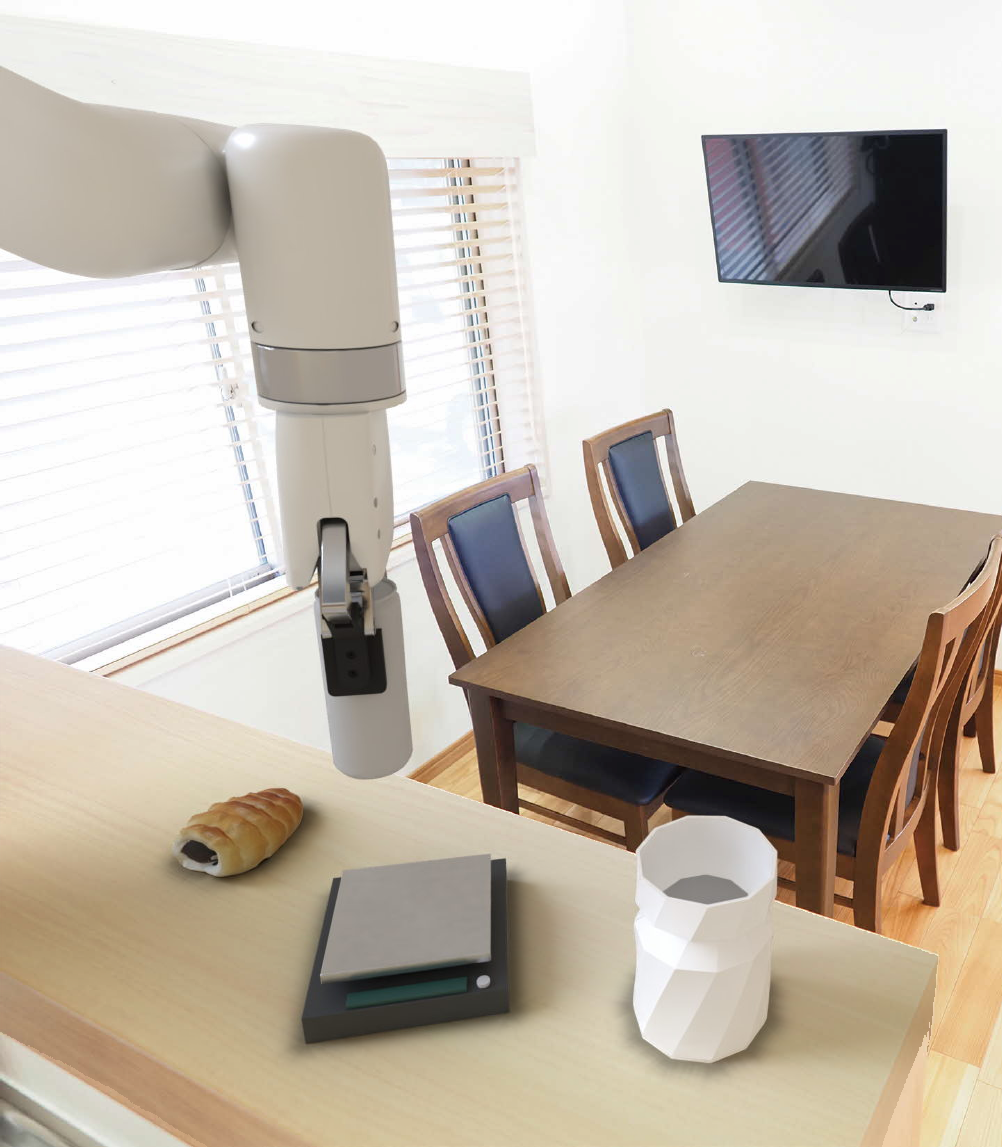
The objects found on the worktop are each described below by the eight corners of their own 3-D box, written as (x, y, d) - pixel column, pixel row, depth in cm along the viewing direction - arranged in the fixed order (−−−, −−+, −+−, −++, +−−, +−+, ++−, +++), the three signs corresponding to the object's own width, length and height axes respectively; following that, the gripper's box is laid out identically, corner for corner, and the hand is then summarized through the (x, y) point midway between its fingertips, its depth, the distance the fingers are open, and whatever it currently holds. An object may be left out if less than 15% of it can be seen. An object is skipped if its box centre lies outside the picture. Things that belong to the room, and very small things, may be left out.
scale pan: (321, 985, 59) (319, 975, 59) (343, 879, 68) (342, 869, 68) (491, 962, 62) (490, 951, 61) (491, 862, 71) (490, 853, 70)
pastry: (262, 799, 81) (256, 760, 80) (328, 819, 79) (323, 779, 78) (164, 866, 73) (156, 824, 71) (236, 890, 71) (228, 848, 70)
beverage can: (317, 775, 60) (293, 598, 56) (364, 737, 65) (345, 570, 60) (386, 789, 59) (367, 610, 55) (429, 749, 64) (415, 580, 59)
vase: (723, 1089, 58) (731, 929, 53) (605, 1026, 61) (604, 872, 57) (791, 993, 65) (804, 844, 60) (682, 942, 69) (686, 799, 64)
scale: (305, 1046, 59) (300, 1015, 58) (336, 902, 70) (332, 874, 69) (509, 1014, 62) (508, 984, 61) (507, 881, 73) (505, 854, 72)
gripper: (285, 347, 60) (319, 617, 66) (216, 407, 44) (269, 750, 51) (415, 349, 62) (435, 611, 68) (390, 407, 46) (419, 737, 53)
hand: (363, 668), depth 60 cm, fingers closed on beverage can, 4 cm apart
